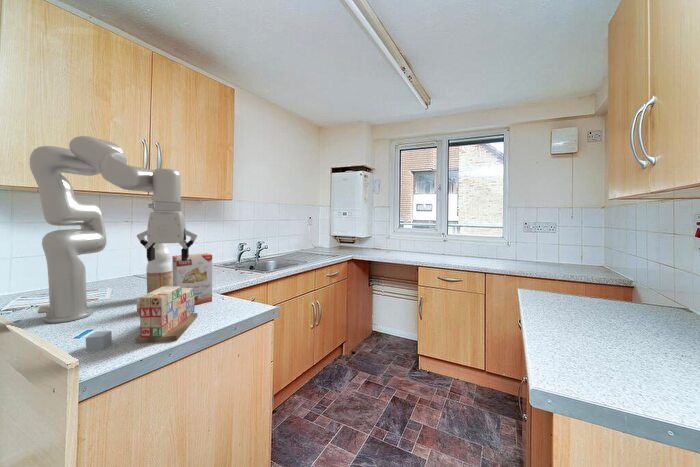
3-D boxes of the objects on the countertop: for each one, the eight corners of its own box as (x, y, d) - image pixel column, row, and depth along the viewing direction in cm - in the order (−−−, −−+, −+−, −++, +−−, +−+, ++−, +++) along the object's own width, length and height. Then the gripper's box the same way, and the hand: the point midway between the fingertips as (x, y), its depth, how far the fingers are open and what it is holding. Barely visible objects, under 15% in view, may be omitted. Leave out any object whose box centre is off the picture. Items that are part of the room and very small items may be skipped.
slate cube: (86, 351, 78) (85, 337, 78) (95, 345, 82) (95, 331, 81) (103, 350, 79) (102, 336, 78) (111, 343, 83) (111, 330, 82)
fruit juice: (146, 301, 121) (144, 236, 119) (148, 296, 129) (146, 235, 127) (172, 298, 126) (170, 236, 124) (172, 293, 134) (171, 234, 132)
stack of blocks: (177, 312, 105) (176, 279, 104) (194, 312, 105) (194, 279, 105) (139, 337, 84) (138, 296, 83) (162, 337, 84) (161, 296, 83)
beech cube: (137, 315, 105) (136, 302, 104) (138, 311, 109) (137, 299, 109) (153, 313, 108) (153, 300, 107) (153, 309, 112) (153, 297, 111)
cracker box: (177, 308, 113) (176, 257, 111) (172, 305, 117) (171, 255, 115) (213, 301, 123) (212, 254, 122) (207, 298, 127) (207, 252, 126)
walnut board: (135, 343, 83) (135, 338, 83) (164, 318, 102) (164, 314, 102) (176, 340, 85) (176, 335, 85) (197, 316, 105) (197, 312, 105)
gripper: (130, 206, 86) (131, 262, 87) (192, 208, 89) (193, 262, 91) (142, 207, 93) (144, 258, 94) (200, 209, 97) (200, 258, 98)
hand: (168, 260), depth 92 cm, fingers open, 9 cm apart
